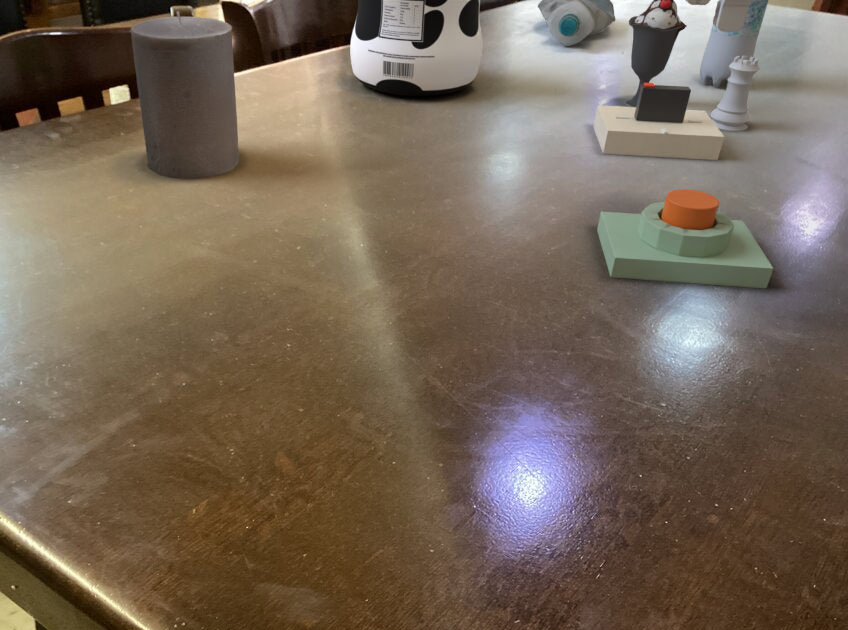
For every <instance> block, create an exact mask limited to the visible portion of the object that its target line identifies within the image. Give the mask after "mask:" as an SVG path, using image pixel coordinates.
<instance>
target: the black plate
mask: <svg viewBox="0 0 848 630" xmlns="http://www.w3.org/2000/svg"><path fill="white" fill-rule="evenodd" d="M691 93H692V89H691V88H690V87H689V86H685V85H684V86H681V85H663V84H654V82H649V83H644V84H642V85H641V88H640V92H639V97H638V101H637V106H636V110H635V115H634V117H635V119H636V120H640V121H660V122H679V123H683V120H684V116H685V112H686V110H687V108H688V104H689V99H690V97H691Z"/></svg>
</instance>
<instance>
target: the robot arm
mask: <svg viewBox="0 0 848 630" xmlns="http://www.w3.org/2000/svg"><path fill="white" fill-rule="evenodd" d="M685 1H686V2H687V3H688V4H689V5H690V6H707V5H708V4H709V3H710V2H711V0H685ZM752 1H753V0H721V1H719V0H717V3H716V7H715V12H714V16H713V18H712V25H713V24H714V25H715V26H716V27H717V28H718V29H719V30H720V31H723V32H737V31H739V30H741V29H742V27H743V26H744V22H745V19H746V15H747V12H748V8H749V5H750V4H751V2H752Z"/></svg>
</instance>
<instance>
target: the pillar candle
mask: <svg viewBox="0 0 848 630" xmlns="http://www.w3.org/2000/svg"><path fill="white" fill-rule="evenodd" d="M232 30H233V26H232V25H231V24H229V23H228V22H226V21H223V20H219V19H216V18H212V17H201V16H181V14H180V11H178V10H177V11H176V16H164V17H156V18H150V19H146V20H142V21H140V22H136V23H134V25H131V27H130V36H131V45H132V51H133V62H134V69H135V75H136V77H135V78H136V85H137V92H138V97H139V98H138V100H139V106H140V113H141V122H142V123H141V124H142V129H143V135H144V145H145V151H146V158H147V159H146V160H147V164H146V167H147V168H148V169H149V170H151V171H152V172H153V173H155V174H156V175H159V176H162V177H165V178H170V179H180V180H194V179H195V180H196V179H205V178H211V177H216V176H221V175H223V174H226V173H229V172H231V171H232V170H234V169H235V168H236V167H237V166H238V165H239V163H240V153H239V134H238V133H239V132H238V115H237V97H236V83H235V82H236V81H235V66H234V63H235V62H234V51H233V50H234V49H233V34H232V33H233V31H232Z"/></svg>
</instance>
